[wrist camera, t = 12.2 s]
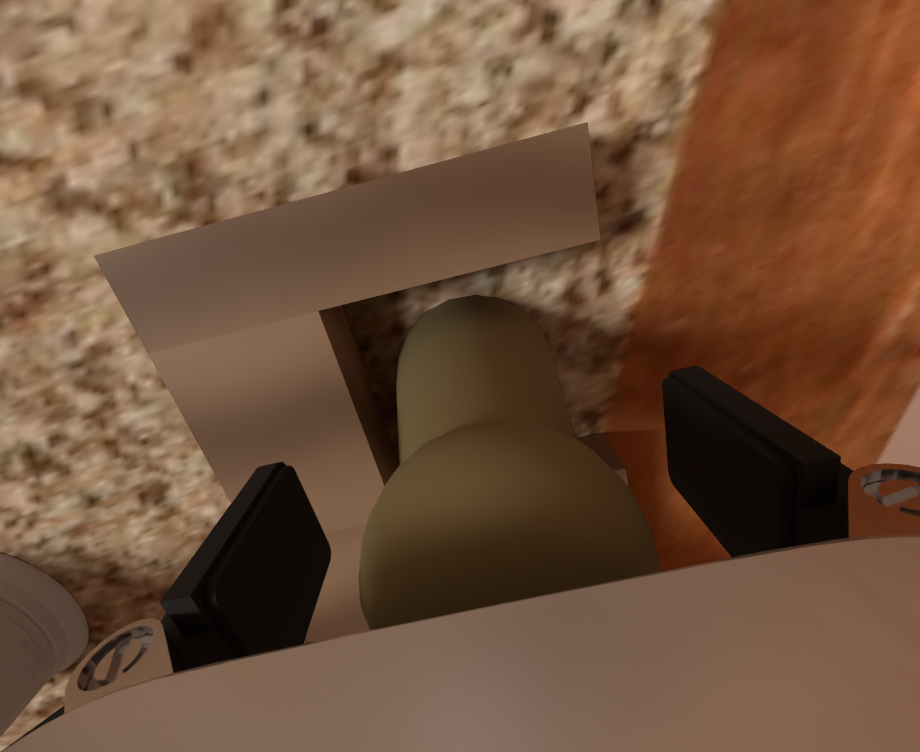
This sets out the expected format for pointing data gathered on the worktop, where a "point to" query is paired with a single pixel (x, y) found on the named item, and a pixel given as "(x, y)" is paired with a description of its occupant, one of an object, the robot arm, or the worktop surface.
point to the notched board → (335, 319)
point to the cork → (490, 477)
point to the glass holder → (34, 634)
